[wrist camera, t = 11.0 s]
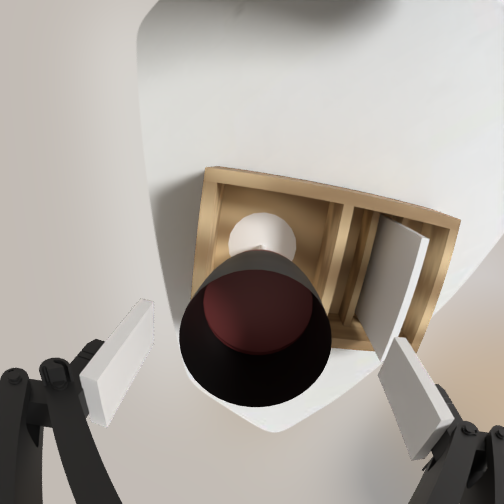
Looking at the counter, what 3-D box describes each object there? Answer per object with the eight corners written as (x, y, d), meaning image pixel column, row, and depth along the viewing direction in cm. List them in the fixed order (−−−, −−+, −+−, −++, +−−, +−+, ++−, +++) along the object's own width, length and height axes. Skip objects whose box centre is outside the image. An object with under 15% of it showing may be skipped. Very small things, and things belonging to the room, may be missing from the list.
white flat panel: (378, 213, 33) (421, 237, 23) (384, 215, 33) (429, 239, 23) (353, 309, 37) (380, 361, 26) (359, 310, 37) (387, 362, 26)
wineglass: (224, 279, 36) (183, 399, 17) (228, 204, 34) (176, 262, 15) (293, 285, 36) (316, 409, 17) (301, 210, 33) (345, 275, 14)
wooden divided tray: (217, 166, 34) (205, 167, 27) (430, 208, 34) (460, 220, 27) (201, 298, 38) (188, 326, 31) (396, 325, 38) (416, 353, 31)
